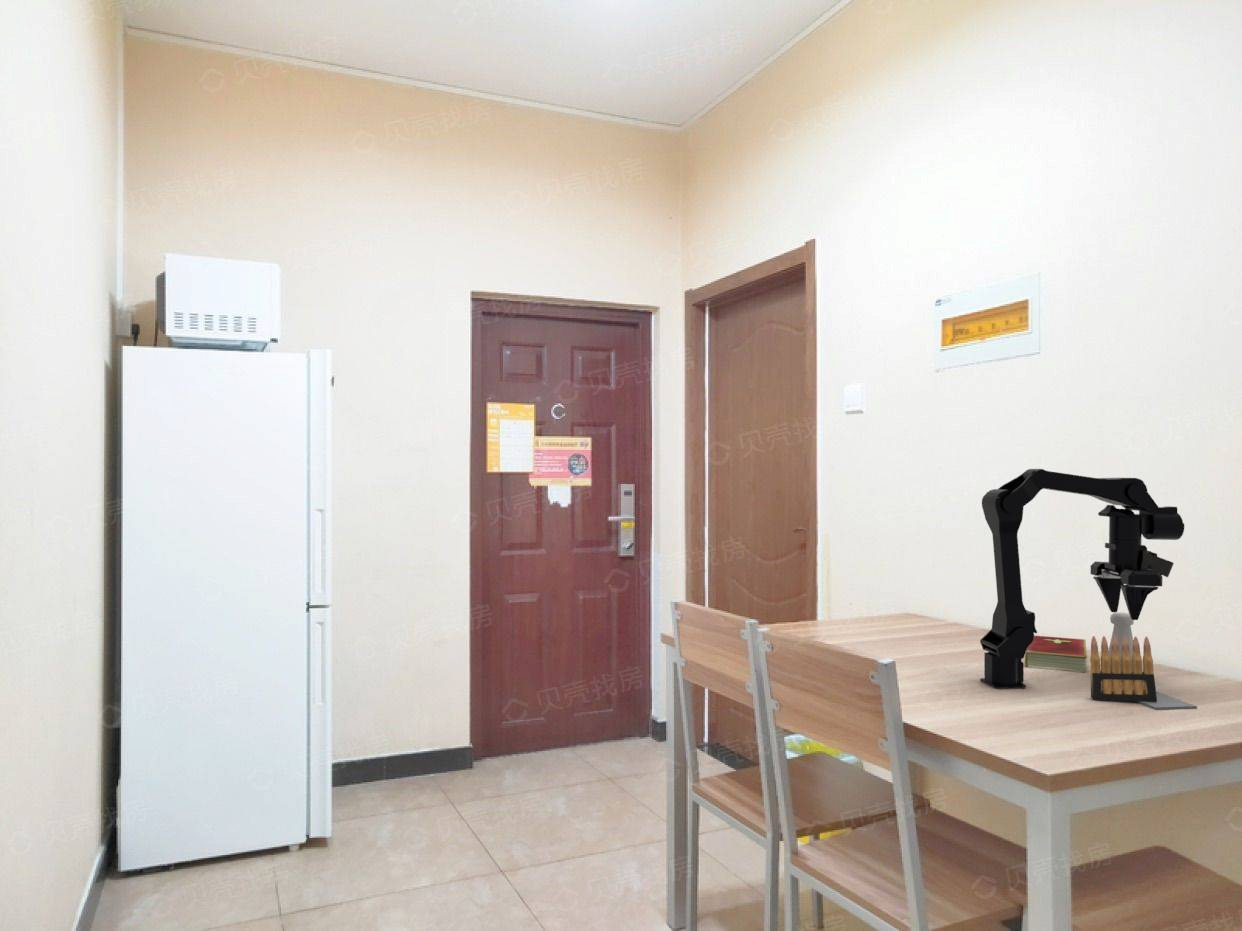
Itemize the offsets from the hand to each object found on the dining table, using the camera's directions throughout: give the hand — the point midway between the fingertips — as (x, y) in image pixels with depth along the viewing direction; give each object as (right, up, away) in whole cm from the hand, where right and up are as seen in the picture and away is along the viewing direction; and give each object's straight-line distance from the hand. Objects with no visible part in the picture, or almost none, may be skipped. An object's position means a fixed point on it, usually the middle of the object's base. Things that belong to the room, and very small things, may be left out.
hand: (1124, 615), depth 175 cm
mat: (-1, -14, -12) cm, 18 cm away
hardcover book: (-3, -15, +22) cm, 27 cm away
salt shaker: (+5, -14, +9) cm, 17 cm away
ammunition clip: (-7, -14, -12) cm, 20 cm away
